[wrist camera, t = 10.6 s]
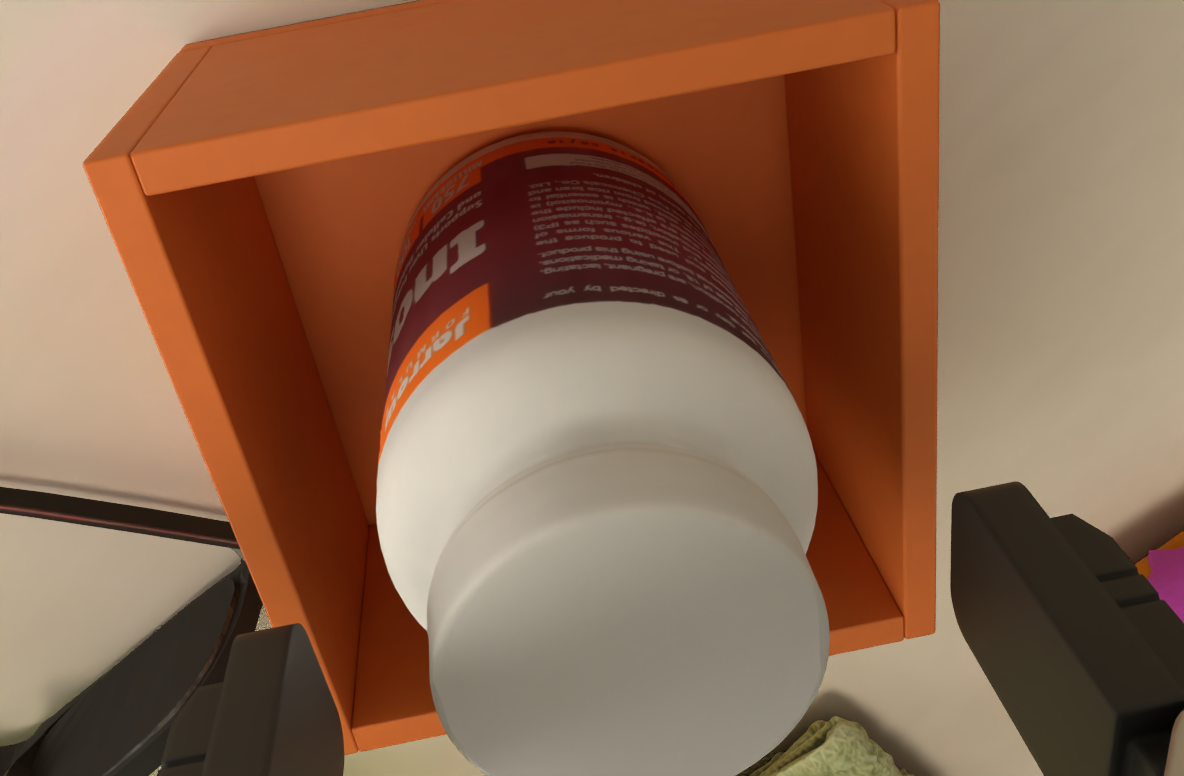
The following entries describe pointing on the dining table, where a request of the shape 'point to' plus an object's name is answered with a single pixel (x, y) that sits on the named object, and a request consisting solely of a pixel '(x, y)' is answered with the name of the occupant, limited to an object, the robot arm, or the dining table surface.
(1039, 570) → the robot arm
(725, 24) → the bin
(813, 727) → the washcloth
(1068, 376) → the dining table surface
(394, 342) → the pill bottle
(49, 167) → the dining table surface
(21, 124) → the dining table surface
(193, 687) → the sunglasses
